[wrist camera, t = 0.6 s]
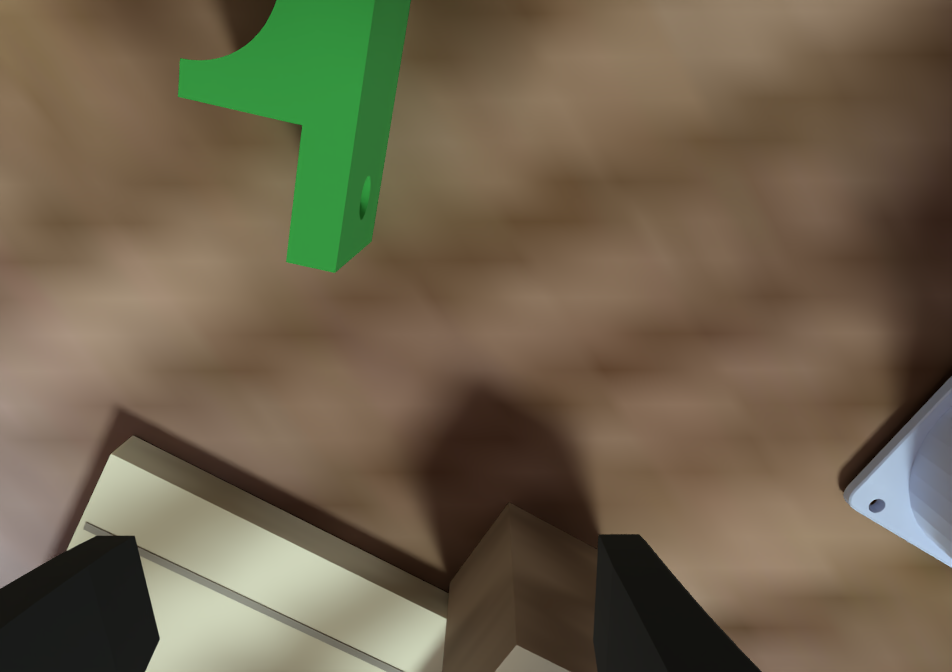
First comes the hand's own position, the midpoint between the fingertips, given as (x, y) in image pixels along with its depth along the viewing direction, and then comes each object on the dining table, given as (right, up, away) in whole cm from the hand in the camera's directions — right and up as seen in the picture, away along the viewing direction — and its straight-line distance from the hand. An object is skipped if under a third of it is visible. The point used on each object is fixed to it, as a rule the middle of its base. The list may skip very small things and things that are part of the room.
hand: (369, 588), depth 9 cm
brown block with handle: (+1, -8, +13) cm, 15 cm away
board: (-4, -8, +13) cm, 16 cm away
